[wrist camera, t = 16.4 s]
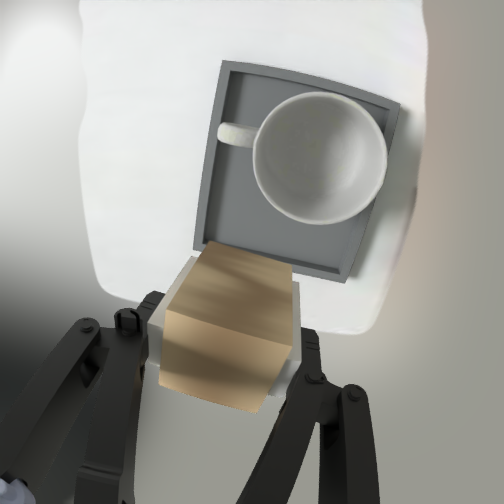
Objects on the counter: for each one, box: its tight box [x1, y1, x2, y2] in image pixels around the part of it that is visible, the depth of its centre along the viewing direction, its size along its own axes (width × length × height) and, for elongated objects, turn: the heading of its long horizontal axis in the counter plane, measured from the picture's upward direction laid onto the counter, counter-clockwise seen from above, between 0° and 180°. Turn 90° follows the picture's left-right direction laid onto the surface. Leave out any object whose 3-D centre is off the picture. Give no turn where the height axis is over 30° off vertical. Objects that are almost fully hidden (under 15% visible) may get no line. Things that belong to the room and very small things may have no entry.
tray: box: [193, 60, 400, 284], centre depth 29 cm, size 21×18×2 cm
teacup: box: [217, 92, 388, 225], centre depth 24 cm, size 14×11×8 cm
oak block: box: [159, 241, 293, 413], centre depth 15 cm, size 5×5×7 cm
